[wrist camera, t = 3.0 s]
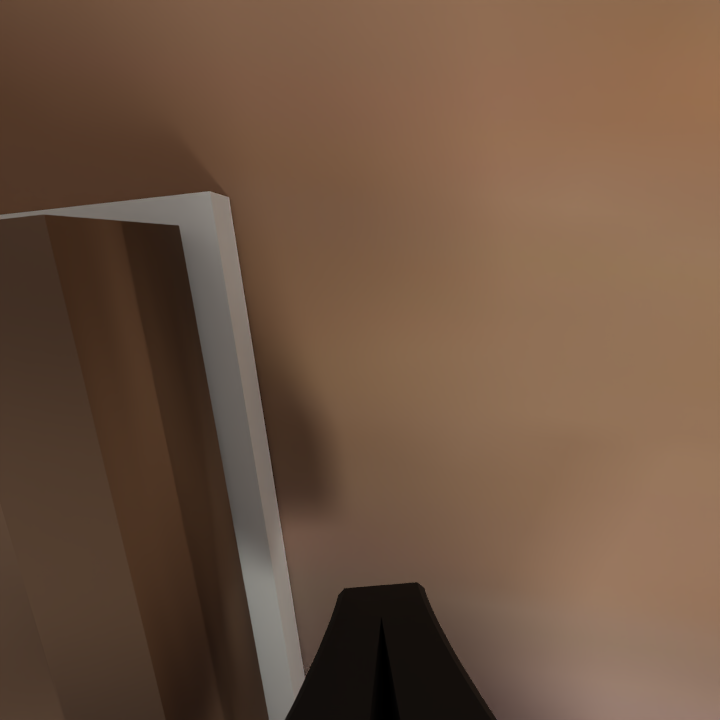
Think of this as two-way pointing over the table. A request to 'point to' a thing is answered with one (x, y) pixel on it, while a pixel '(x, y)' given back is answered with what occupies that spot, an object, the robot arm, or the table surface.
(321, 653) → the robot arm
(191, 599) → the brown rectangular box
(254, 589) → the board
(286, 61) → the table surface
